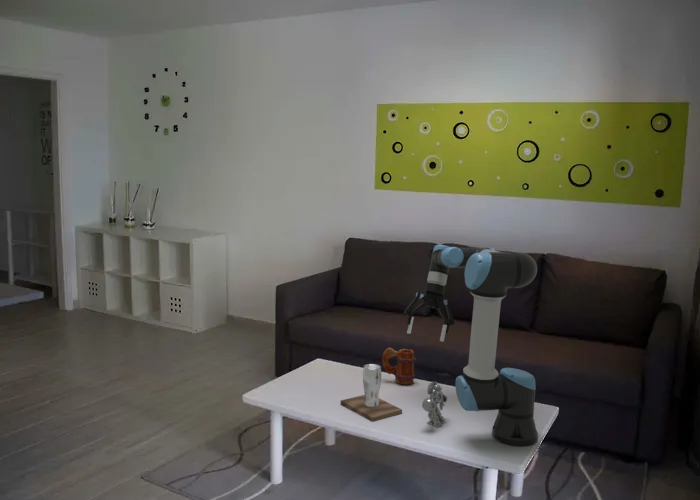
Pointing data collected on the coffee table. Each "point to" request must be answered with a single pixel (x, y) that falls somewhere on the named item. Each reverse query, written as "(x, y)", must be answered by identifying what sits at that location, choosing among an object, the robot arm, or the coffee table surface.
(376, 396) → the beer glass
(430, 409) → the robot toy
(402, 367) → the mug
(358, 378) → the coffee table surface
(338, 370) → the coffee table surface
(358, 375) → the coffee table surface
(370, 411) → the serving board
